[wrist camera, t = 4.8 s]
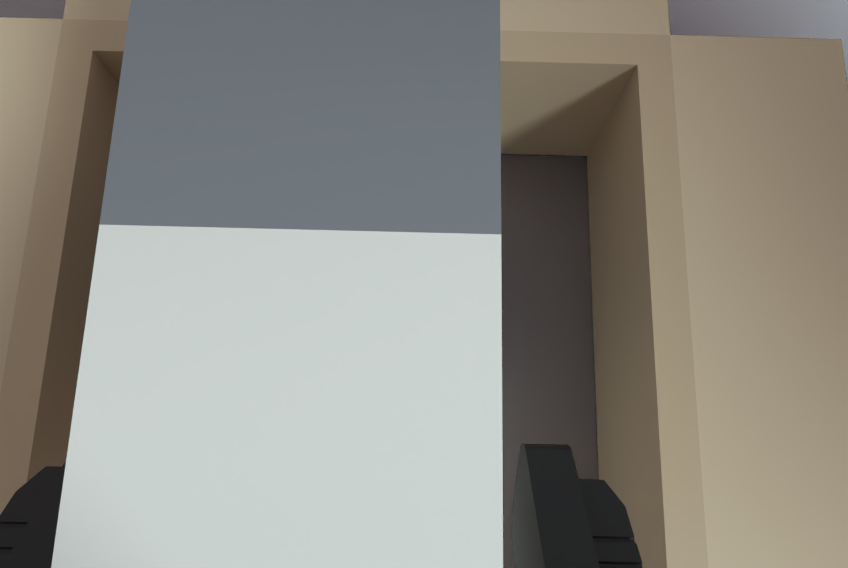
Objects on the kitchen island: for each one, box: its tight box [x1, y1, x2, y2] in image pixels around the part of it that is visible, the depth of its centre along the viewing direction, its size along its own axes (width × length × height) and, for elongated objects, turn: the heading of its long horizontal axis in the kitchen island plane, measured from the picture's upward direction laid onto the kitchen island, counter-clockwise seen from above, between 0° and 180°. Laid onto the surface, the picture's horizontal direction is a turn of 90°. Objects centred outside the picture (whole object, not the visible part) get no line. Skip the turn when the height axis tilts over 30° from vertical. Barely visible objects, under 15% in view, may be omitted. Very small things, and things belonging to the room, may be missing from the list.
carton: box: [0, 0, 848, 568], centre depth 17 cm, size 22×24×5 cm
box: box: [51, 0, 503, 568], centre depth 13 cm, size 4×11×12 cm, turn 179°
